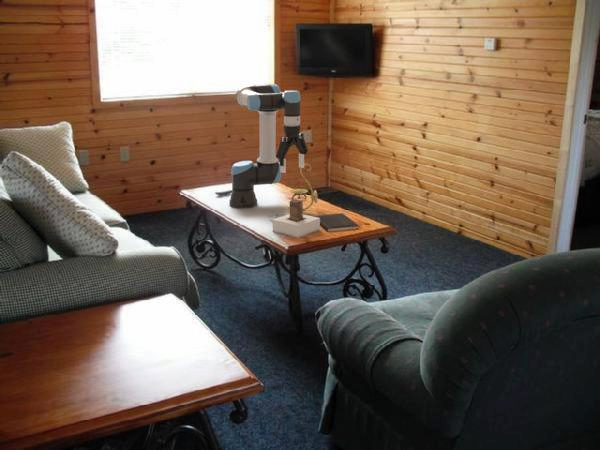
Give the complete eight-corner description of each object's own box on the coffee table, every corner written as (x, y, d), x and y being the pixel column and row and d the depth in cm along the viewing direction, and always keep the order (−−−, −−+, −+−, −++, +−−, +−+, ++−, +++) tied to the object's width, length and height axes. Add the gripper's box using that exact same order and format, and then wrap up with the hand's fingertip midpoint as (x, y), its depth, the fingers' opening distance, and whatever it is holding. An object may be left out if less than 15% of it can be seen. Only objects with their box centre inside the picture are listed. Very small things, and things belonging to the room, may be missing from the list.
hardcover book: (342, 217, 359) (342, 213, 359) (358, 229, 338) (358, 225, 338) (312, 220, 355) (312, 215, 355) (327, 232, 334) (327, 228, 333)
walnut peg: (295, 227, 338) (295, 199, 334) (302, 229, 335) (302, 200, 331) (289, 229, 335) (289, 201, 331) (297, 231, 332) (296, 202, 328)
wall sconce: (313, 207, 377) (313, 161, 370) (318, 211, 368) (318, 164, 361) (288, 208, 374) (287, 162, 367) (292, 213, 365) (291, 166, 358)
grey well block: (294, 224, 346) (294, 212, 344) (319, 230, 336) (319, 218, 335) (272, 231, 334) (272, 219, 333) (298, 238, 325) (298, 225, 323)
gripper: (280, 129, 312) (281, 176, 318) (315, 122, 330) (315, 166, 337) (268, 127, 316) (268, 173, 323) (302, 120, 335) (302, 164, 341)
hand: (292, 170), depth 330 cm, fingers open, 13 cm apart
